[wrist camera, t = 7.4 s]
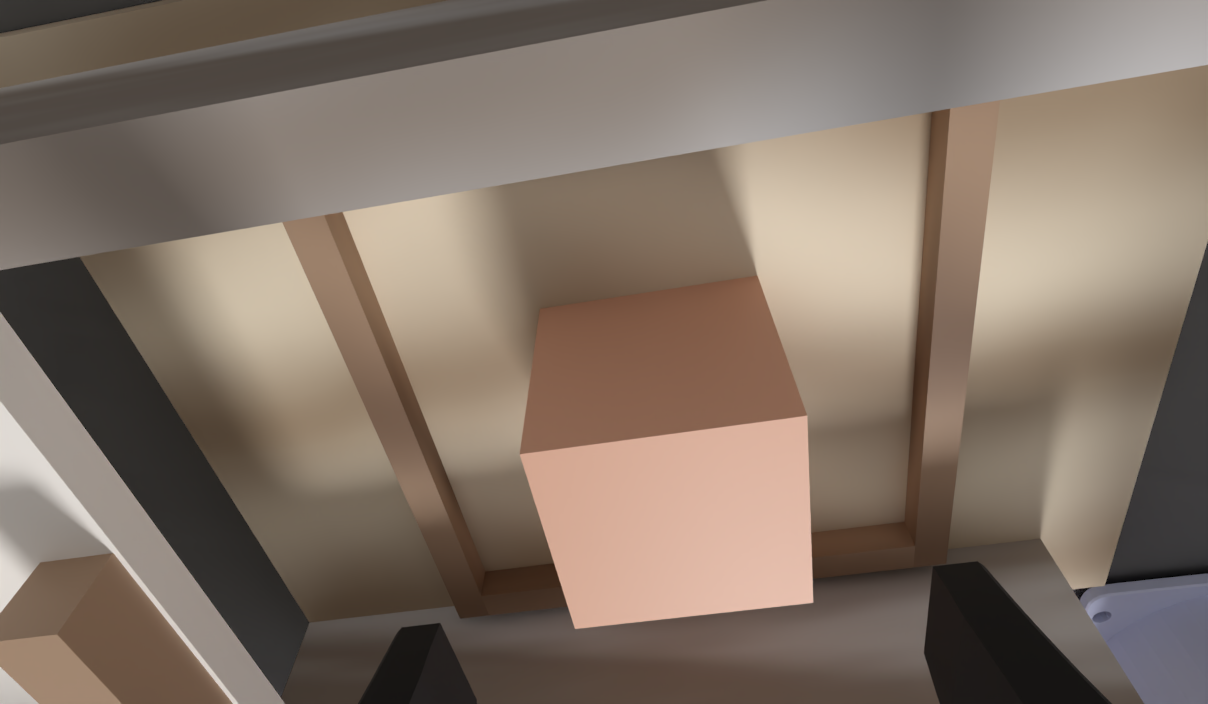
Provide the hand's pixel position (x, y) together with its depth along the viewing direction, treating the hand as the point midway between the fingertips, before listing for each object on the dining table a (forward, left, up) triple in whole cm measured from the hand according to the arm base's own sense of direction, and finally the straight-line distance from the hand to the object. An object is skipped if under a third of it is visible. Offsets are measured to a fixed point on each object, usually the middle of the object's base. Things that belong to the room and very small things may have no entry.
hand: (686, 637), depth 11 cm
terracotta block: (0, 0, -7) cm, 7 cm away
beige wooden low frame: (0, 0, -8) cm, 8 cm away
